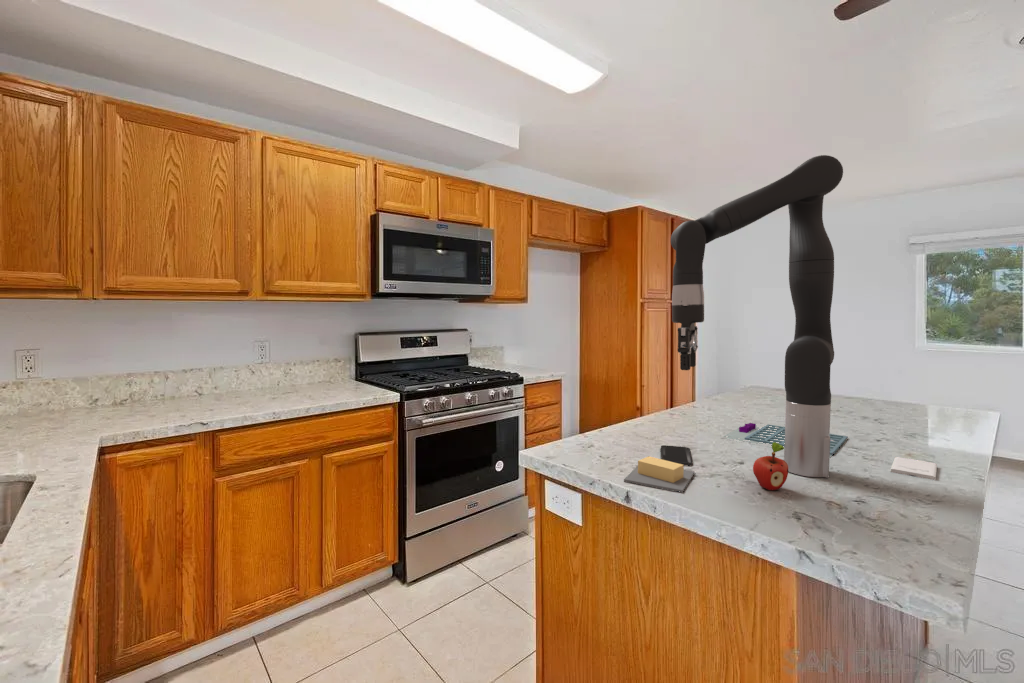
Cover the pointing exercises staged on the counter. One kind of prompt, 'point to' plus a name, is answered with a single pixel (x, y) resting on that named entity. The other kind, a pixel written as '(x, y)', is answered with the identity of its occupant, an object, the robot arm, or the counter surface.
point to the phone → (676, 454)
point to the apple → (771, 470)
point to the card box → (661, 469)
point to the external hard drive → (914, 468)
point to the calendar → (752, 434)
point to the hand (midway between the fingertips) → (688, 368)
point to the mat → (659, 483)
